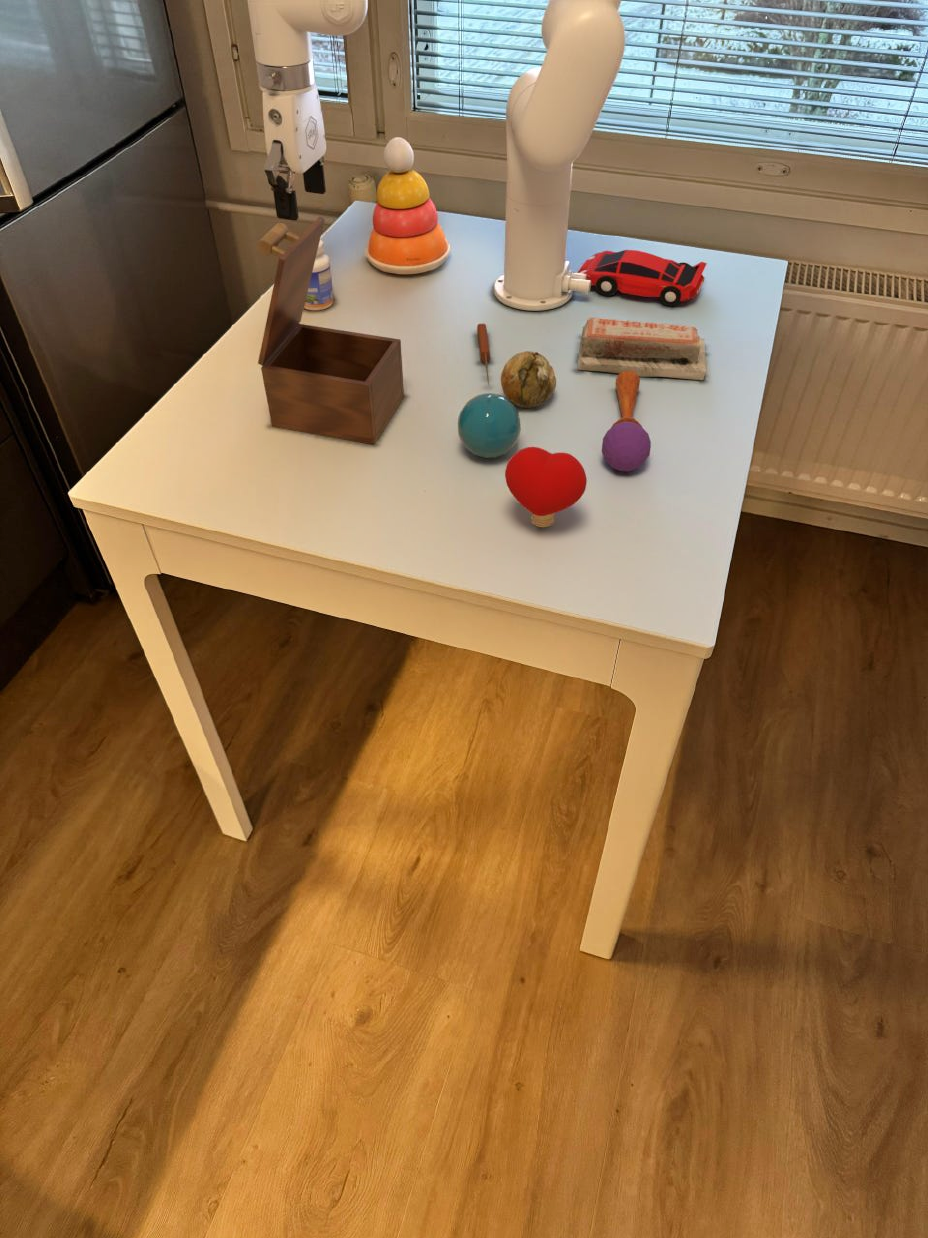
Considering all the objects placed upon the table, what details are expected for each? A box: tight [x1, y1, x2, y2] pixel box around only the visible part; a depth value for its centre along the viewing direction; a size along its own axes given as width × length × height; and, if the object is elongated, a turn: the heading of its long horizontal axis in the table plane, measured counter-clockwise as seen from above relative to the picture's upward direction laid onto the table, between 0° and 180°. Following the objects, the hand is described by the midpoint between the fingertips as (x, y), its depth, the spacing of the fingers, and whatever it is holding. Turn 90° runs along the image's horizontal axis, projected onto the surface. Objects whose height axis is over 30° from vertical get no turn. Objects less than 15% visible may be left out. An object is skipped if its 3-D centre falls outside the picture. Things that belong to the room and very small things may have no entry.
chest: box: [260, 323, 405, 446], centre depth 121 cm, size 15×12×9 cm
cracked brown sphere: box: [500, 350, 557, 409], centre depth 123 cm, size 8×8×8 cm
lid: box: [256, 216, 326, 367], centre depth 113 cm, size 15×12×5 cm
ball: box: [457, 392, 522, 459], centre depth 114 cm, size 8×8×8 cm
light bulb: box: [504, 446, 588, 528], centre depth 104 cm, size 9×7×10 cm
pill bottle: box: [304, 238, 334, 312], centre depth 141 cm, size 5×5×10 cm
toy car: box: [577, 249, 708, 308], centre depth 146 cm, size 10×20×5 cm, turn 72°
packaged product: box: [577, 317, 707, 381], centre depth 131 cm, size 18×5×10 cm
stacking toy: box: [365, 136, 451, 275], centre depth 148 cm, size 14×14×20 cm
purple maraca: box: [601, 371, 652, 472], centre depth 118 cm, size 6×6×20 cm
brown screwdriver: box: [476, 323, 491, 386], centre depth 132 cm, size 16×1×2 cm, turn 3°
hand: (302, 205), depth 134 cm, fingers open, 9 cm apart
